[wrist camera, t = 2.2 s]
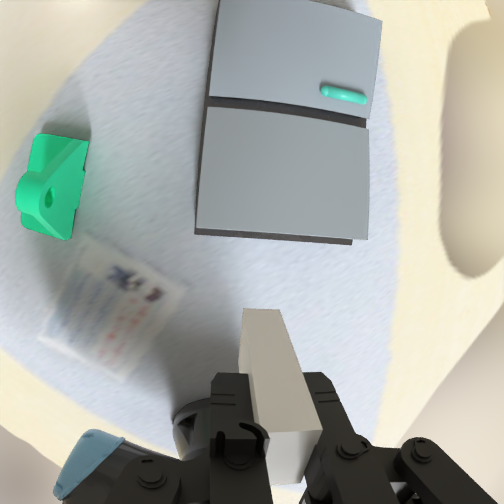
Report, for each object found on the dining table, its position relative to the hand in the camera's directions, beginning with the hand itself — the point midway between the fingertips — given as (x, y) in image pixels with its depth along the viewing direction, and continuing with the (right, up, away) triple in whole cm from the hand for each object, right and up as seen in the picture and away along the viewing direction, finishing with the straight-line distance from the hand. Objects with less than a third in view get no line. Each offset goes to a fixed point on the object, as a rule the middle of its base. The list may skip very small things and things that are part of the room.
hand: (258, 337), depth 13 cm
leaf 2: (+3, +11, +18) cm, 21 cm away
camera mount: (-25, +12, +20) cm, 34 cm away
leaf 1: (+4, +24, +14) cm, 29 cm away
